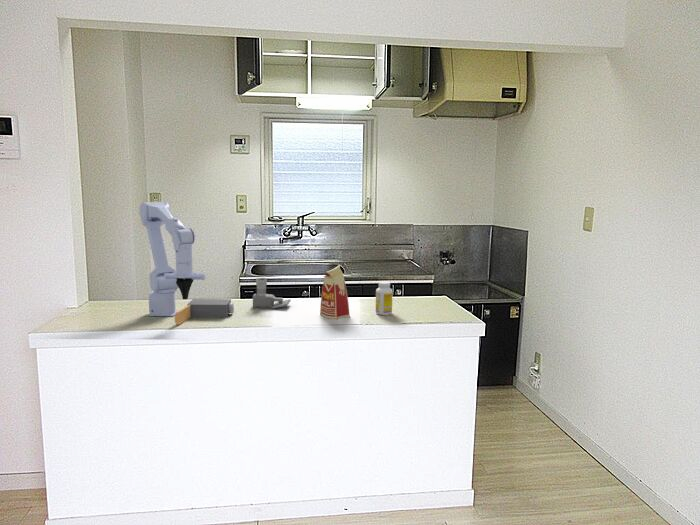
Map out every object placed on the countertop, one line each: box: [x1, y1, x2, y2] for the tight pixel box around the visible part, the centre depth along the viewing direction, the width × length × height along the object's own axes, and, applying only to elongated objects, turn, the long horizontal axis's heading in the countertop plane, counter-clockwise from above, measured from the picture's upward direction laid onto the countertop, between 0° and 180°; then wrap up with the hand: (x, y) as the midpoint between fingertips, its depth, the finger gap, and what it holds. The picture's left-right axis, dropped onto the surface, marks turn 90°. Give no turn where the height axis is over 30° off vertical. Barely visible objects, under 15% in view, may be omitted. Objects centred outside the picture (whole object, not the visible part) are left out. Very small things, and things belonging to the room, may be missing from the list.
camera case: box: [186, 298, 235, 318], centre depth 209 cm, size 17×9×5 cm, turn 92°
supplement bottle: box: [375, 280, 393, 316], centre depth 214 cm, size 7×7×13 cm
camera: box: [252, 277, 291, 310], centre depth 221 cm, size 9×12×15 cm
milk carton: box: [319, 264, 351, 320], centre depth 208 cm, size 9×9×20 cm
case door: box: [174, 305, 192, 326], centre depth 198 cm, size 11×2×5 cm, turn 174°
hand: (185, 298), depth 194 cm, fingers closed
